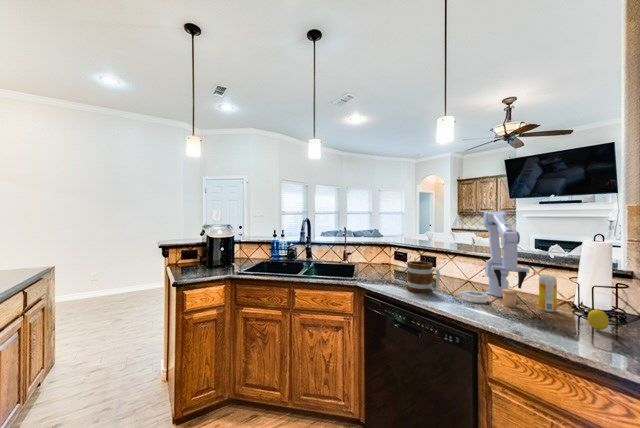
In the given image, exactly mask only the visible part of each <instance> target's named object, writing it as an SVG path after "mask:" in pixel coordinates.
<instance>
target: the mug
mask: <svg viewBox="0 0 640 428" xmlns="http://www.w3.org/2000/svg"><path fill="white" fill-rule="evenodd" d="M406 263H407V264H406V265H407V273H406V279H407V284H406V286H407V287H406V290H407V291H408V292H410V293H415V294H419V293H420V294H422V295H423V293H427V294H431V293H433V292H437V291H438V290H439V288H440V279H441V278H440V277H441V273H440V269H438V268H437V267H436V268H435V267H434V268H433V266H434V263H432V262H429V261H423V260H421V261H420V260H417V261H416V260H415V261H414V260H410V261H408V262H406ZM434 271H435V273H436V277H435V287H433V280H434V274H433V272H434Z"/></svg>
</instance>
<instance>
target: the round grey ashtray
mask: <svg viewBox="0 0 640 428" xmlns="http://www.w3.org/2000/svg"><path fill="white" fill-rule="evenodd" d="M461 299H462V300H464V301H466V302H469V303H476V304H486V303H488V300H489V294H486V293H485V292H483V291H479V290H469V289H468V290H462V292H461Z"/></svg>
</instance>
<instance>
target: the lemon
mask: <svg viewBox="0 0 640 428" xmlns="http://www.w3.org/2000/svg"><path fill="white" fill-rule="evenodd" d="M609 321H610V319H609V317H608V315H607V313H606V312H604V311H603V310H601V309H600V308H596V309H591V310H590V311H588V314H587V322H588V324H589V325H590V327H592V329H595V330H596V331H597V330H598V332H600V331H603V330H605V329H607V328H608V326H609V324H610V322H609Z"/></svg>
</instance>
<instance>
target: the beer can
mask: <svg viewBox="0 0 640 428" xmlns="http://www.w3.org/2000/svg"><path fill="white" fill-rule="evenodd" d="M557 283H558V280H557V277H556V276H554V275H549V274H541V275H539V278H538V308H539V309H540V311H543V312H547V313H555V312H556V311H557V307H558V306H557V302H558V299H557V295H558V294H557V288H558V284H557Z"/></svg>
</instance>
